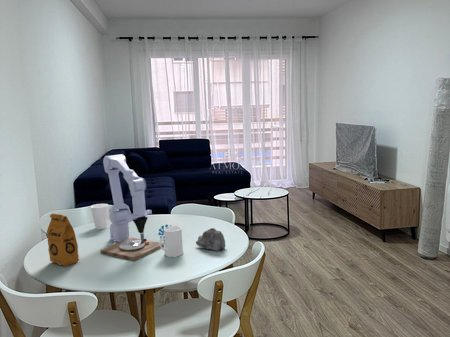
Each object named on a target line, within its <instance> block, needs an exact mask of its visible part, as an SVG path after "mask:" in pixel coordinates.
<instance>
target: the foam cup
mask: <svg viewBox="0 0 450 337" xmlns="http://www.w3.org/2000/svg"><path fill="white" fill-rule="evenodd" d="M90 211H91V216H92V219H93V223H94V227H95V229H96V230H104V229H107V228H108V220H109V204H108V203H96V204H92V205H91V206H90Z"/></svg>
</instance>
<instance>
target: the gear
mask: <svg viewBox="0 0 450 337" xmlns="http://www.w3.org/2000/svg"><path fill="white" fill-rule="evenodd" d="M170 226H172V225H171V224H170V225H169V224H165V225H161V226H160V228H159V229H158V235H157V236H159V240H160V239H161V237H162V236H163V235H164V228H166V227H170ZM162 240H163V242H164V237H163V239H162Z"/></svg>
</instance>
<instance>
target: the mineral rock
mask: <svg viewBox="0 0 450 337" xmlns="http://www.w3.org/2000/svg"><path fill="white" fill-rule="evenodd" d="M195 245H196V246H198V247H199V248H201V249H202V248H203V249H206V250H207V249H208V250H211V251H212V250H213V251H217V252H218V251H219V252H221V251H222V250H224V249H225V248H226V240H225V236H224V234H223V233H222V231H221V230H216V228H214V227H212V228H211V227H210V228H209V229H207V230H205V231H203V233H202V235H199V236H198V237H197V240H196V241H195ZM221 249H222V250H221Z"/></svg>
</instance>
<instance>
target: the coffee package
mask: <svg viewBox="0 0 450 337" xmlns="http://www.w3.org/2000/svg"><path fill="white" fill-rule="evenodd" d="M49 218H50V222H49V224H48V228H47V230H46V237H47V245H48V249H47V250H48V254H49V255H48V256H49V261H50V262H52V263H55V264H56V265H57V264H58V265H59V266H62V267H68V266H72V265H74V264H78V261H79V262H80V258H79V248H78V247H79V246H78V242H77V237H76V234H75V233H76V232H75V230H74V227H73V226H72V224H71V222H70V220H69V218H68V216H66V215H63V214H60V213H57V214H56V213H51V214H50V215H49ZM71 264H72V265H71Z"/></svg>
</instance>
